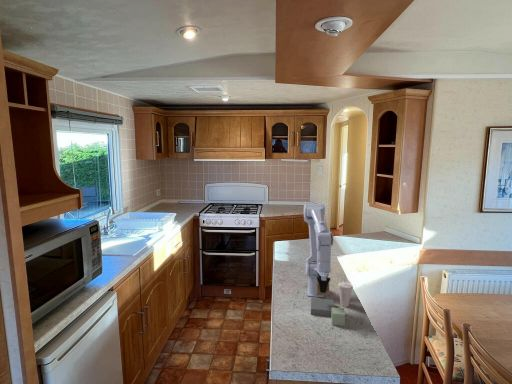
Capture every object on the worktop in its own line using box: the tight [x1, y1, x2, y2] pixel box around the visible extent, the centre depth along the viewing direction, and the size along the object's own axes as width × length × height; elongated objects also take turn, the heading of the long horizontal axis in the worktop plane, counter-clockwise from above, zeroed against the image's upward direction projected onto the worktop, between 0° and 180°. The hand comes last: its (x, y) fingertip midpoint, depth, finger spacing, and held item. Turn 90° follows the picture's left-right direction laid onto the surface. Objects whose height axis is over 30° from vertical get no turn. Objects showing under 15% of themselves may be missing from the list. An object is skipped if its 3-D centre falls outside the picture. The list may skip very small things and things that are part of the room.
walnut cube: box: [317, 280, 330, 297], centre depth 137 cm, size 5×5×5 cm
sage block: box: [330, 306, 346, 327], centre depth 128 cm, size 5×5×5 cm
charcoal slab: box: [310, 297, 335, 317], centre depth 138 cm, size 10×10×3 cm
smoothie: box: [337, 274, 354, 308], centre depth 142 cm, size 6×6×14 cm
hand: (322, 289), depth 137 cm, fingers closed on walnut cube, 5 cm apart
